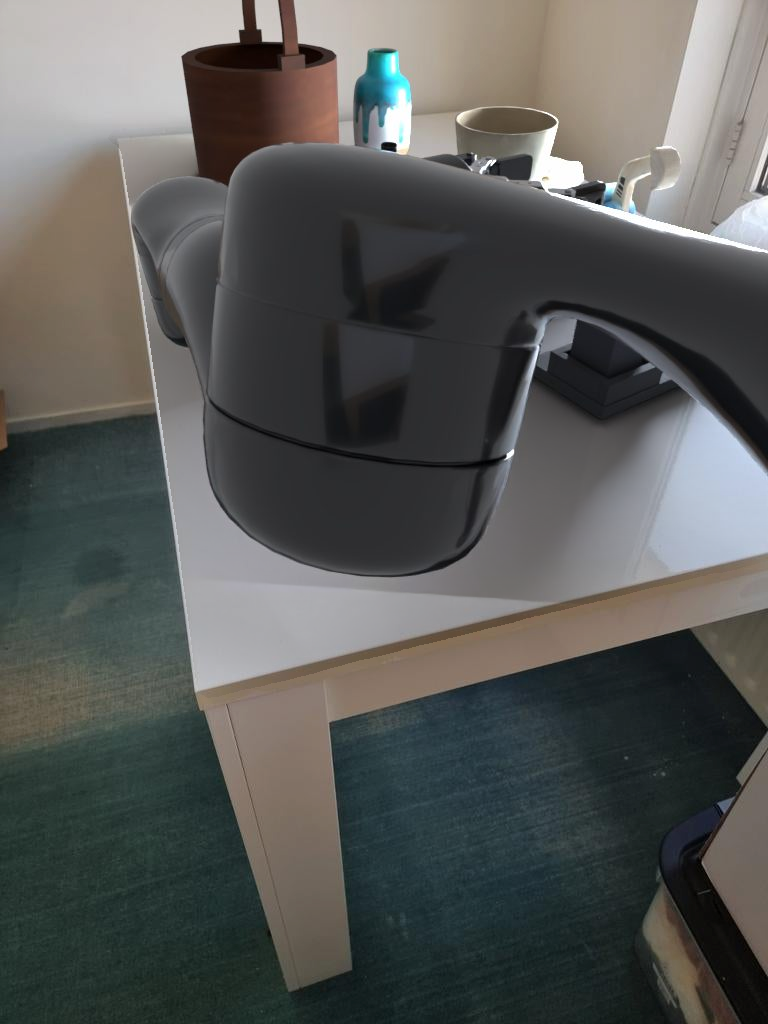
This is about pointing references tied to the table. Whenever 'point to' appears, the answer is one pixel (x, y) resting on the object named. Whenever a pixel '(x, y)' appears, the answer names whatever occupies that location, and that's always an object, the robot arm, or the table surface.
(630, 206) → the toy excavator
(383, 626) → the table surface
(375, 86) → the vase
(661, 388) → the dark square socket base
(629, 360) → the black and orange block
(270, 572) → the table surface
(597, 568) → the table surface
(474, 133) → the plant pot
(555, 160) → the stone
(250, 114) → the bucket
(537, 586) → the table surface
